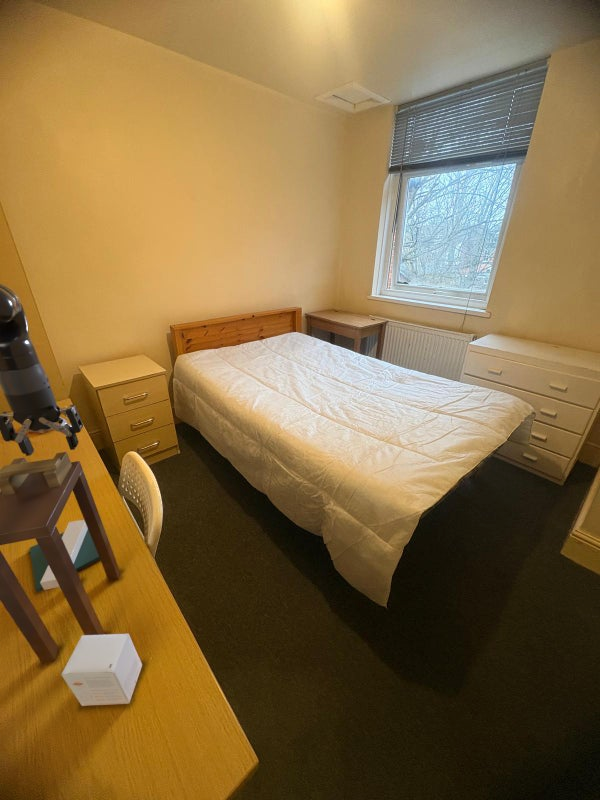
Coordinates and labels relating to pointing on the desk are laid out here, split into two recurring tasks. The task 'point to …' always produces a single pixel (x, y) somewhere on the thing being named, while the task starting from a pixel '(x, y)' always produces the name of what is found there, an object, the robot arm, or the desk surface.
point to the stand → (48, 542)
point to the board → (82, 560)
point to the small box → (103, 669)
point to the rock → (41, 430)
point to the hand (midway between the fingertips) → (52, 450)
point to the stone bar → (72, 543)
